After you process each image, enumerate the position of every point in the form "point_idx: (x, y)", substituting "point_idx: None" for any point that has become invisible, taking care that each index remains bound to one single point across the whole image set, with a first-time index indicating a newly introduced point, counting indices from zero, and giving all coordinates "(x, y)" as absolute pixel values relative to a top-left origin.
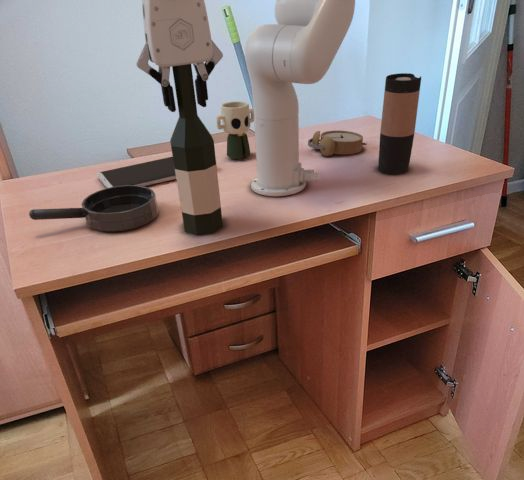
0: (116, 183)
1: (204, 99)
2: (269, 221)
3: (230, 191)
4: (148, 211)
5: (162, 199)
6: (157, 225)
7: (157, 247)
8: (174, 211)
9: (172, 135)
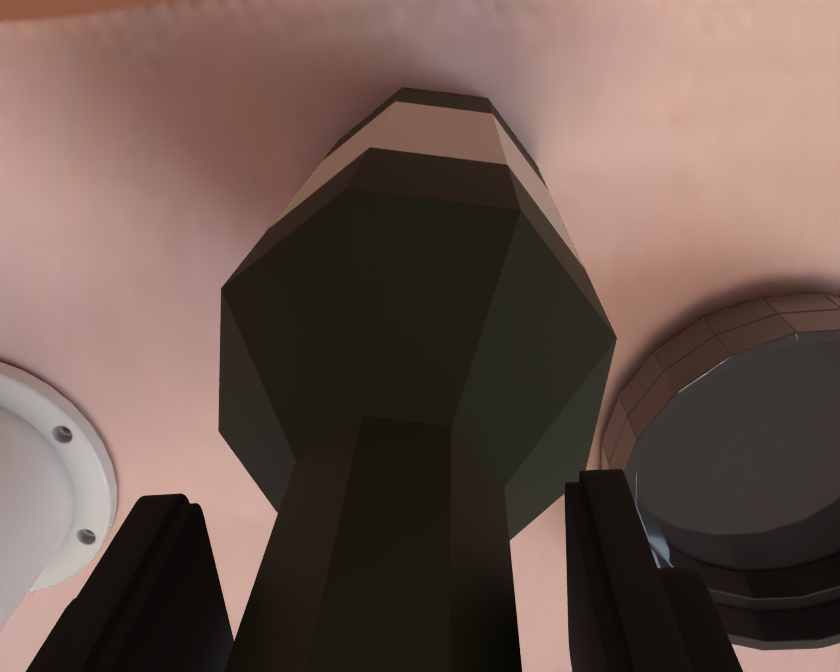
0: None
1: (128, 545)
2: (92, 101)
3: (222, 515)
4: (684, 360)
5: (546, 560)
6: (643, 300)
7: (715, 46)
8: None
9: (570, 472)
